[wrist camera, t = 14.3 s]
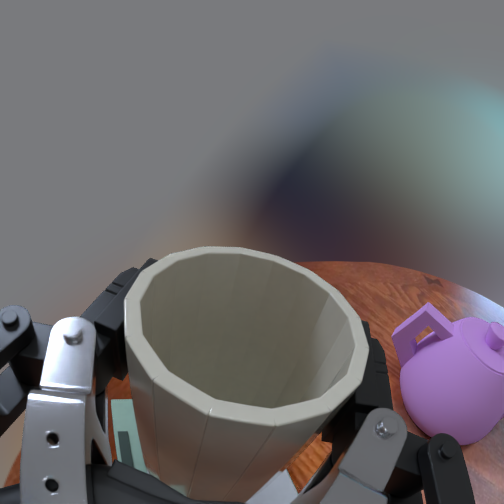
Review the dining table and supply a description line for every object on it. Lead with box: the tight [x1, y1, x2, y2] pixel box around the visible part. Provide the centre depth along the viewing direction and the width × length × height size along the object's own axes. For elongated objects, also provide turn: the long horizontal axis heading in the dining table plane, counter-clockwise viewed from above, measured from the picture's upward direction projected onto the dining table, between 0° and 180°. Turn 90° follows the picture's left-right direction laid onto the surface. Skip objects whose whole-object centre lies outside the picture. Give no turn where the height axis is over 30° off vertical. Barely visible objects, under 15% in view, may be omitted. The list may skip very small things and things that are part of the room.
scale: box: [111, 399, 299, 504], centre depth 19 cm, size 12×12×3 cm
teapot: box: [392, 302, 504, 445], centre depth 26 cm, size 22×16×12 cm
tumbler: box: [124, 246, 369, 503], centre depth 10 cm, size 6×6×9 cm
